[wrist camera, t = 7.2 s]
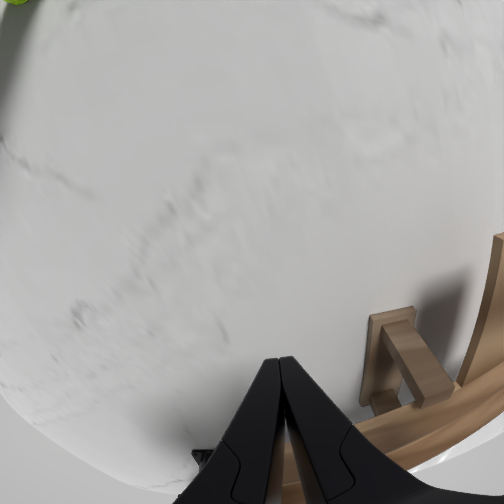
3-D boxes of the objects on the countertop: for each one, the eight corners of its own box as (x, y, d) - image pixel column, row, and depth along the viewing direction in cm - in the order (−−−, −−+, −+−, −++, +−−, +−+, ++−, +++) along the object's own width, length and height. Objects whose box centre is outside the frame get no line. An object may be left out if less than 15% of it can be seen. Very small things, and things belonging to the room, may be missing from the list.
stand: (394, 392, 26) (423, 458, 17) (359, 401, 26) (382, 472, 17) (412, 305, 22) (467, 376, 13) (369, 315, 22) (415, 395, 13)
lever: (488, 375, 20) (513, 403, 16) (258, 463, 19) (266, 513, 14) (533, 211, 14) (577, 229, 10) (207, 274, 13) (205, 342, 8)
